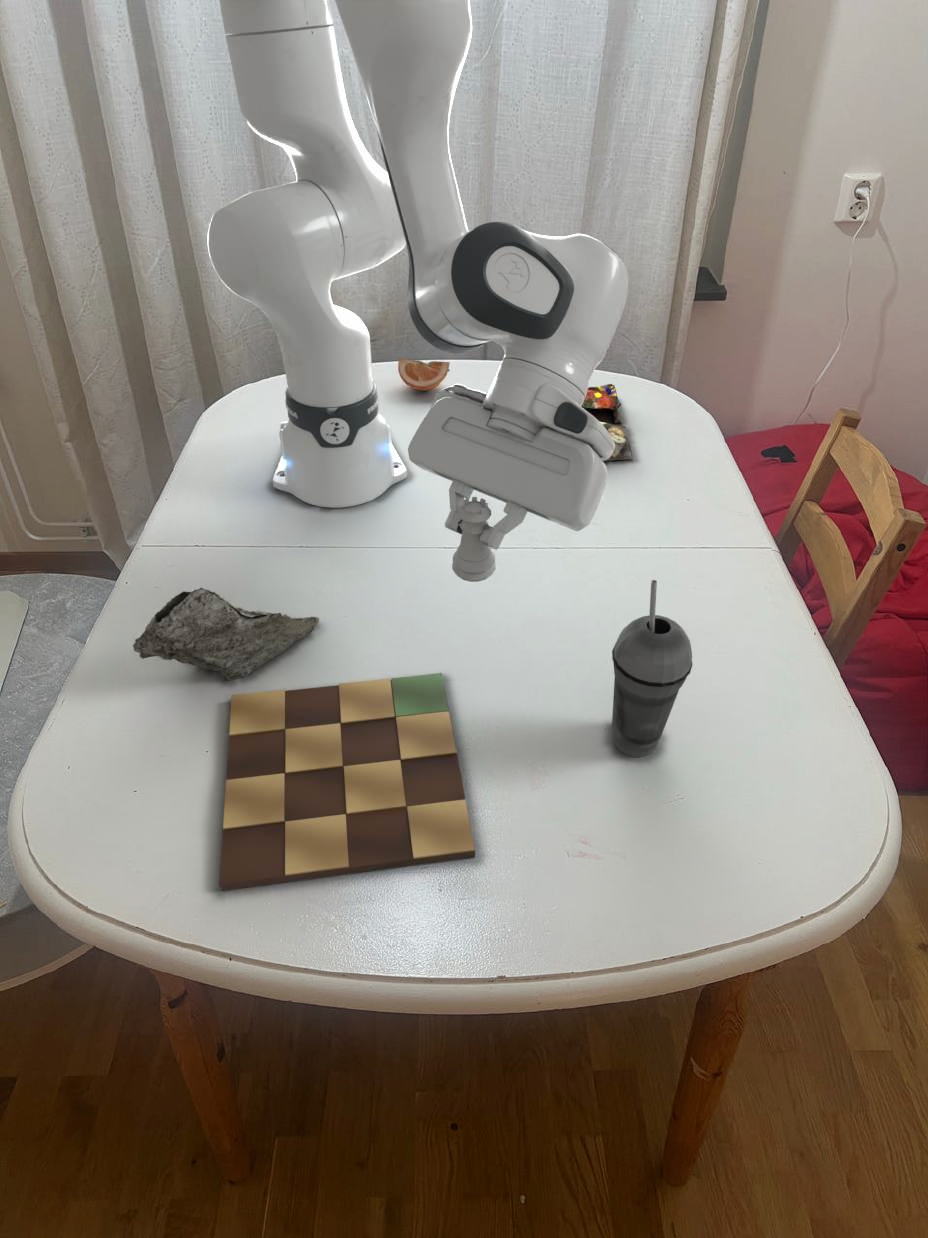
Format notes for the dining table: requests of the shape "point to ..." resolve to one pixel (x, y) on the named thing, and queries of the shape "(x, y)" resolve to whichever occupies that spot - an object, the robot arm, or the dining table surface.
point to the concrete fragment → (219, 634)
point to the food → (609, 400)
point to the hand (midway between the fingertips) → (470, 538)
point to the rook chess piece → (473, 543)
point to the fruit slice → (422, 373)
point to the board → (341, 782)
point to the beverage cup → (647, 679)
